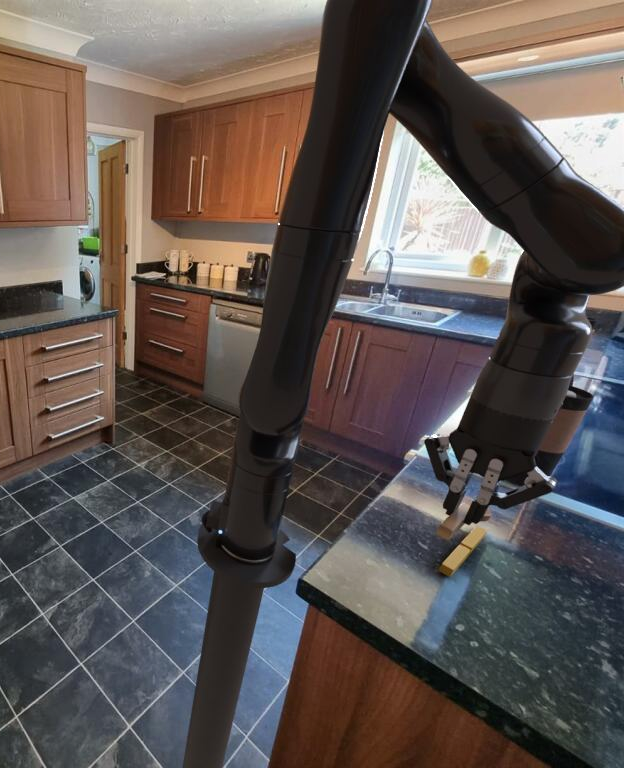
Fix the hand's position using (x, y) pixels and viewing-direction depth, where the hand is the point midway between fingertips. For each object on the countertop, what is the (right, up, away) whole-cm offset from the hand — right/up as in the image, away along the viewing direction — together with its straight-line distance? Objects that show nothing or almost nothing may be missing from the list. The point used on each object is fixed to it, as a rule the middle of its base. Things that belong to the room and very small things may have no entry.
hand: (459, 517), depth 56 cm
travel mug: (+37, -2, +30) cm, 48 cm away
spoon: (0, -1, +1) cm, 1 cm away
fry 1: (+7, -10, +9) cm, 15 cm away
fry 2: (+13, -8, +13) cm, 20 cm away
